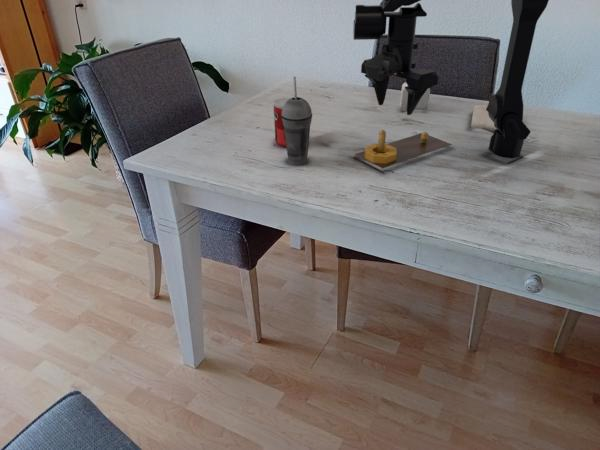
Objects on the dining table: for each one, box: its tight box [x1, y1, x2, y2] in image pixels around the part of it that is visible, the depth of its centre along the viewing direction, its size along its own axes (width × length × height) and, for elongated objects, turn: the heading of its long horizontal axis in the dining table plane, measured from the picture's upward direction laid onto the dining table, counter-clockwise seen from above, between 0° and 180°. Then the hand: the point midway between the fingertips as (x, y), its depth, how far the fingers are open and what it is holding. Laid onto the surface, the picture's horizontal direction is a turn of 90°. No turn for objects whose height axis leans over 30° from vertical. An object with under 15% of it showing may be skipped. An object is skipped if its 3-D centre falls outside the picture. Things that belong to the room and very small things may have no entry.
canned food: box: [273, 97, 292, 149], centre depth 118 cm, size 8×8×11 cm
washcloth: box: [470, 104, 497, 133], centre depth 130 cm, size 12×18×3 cm, turn 159°
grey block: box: [399, 81, 431, 113], centre depth 141 cm, size 8×10×10 cm
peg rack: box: [353, 129, 452, 174], centre depth 111 cm, size 10×24×8 cm, turn 125°
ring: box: [364, 143, 397, 164], centre depth 109 cm, size 7×7×2 cm
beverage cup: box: [281, 76, 313, 166], centre depth 105 cm, size 7×7×20 cm
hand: (394, 109), depth 106 cm, fingers open, 9 cm apart
